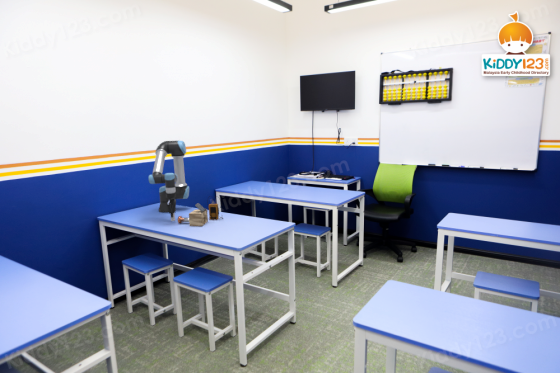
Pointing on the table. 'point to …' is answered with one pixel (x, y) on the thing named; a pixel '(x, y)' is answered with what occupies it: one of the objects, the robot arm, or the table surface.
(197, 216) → the hitch block
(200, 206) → the keeper flap
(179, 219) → the pin
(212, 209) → the multimeter
